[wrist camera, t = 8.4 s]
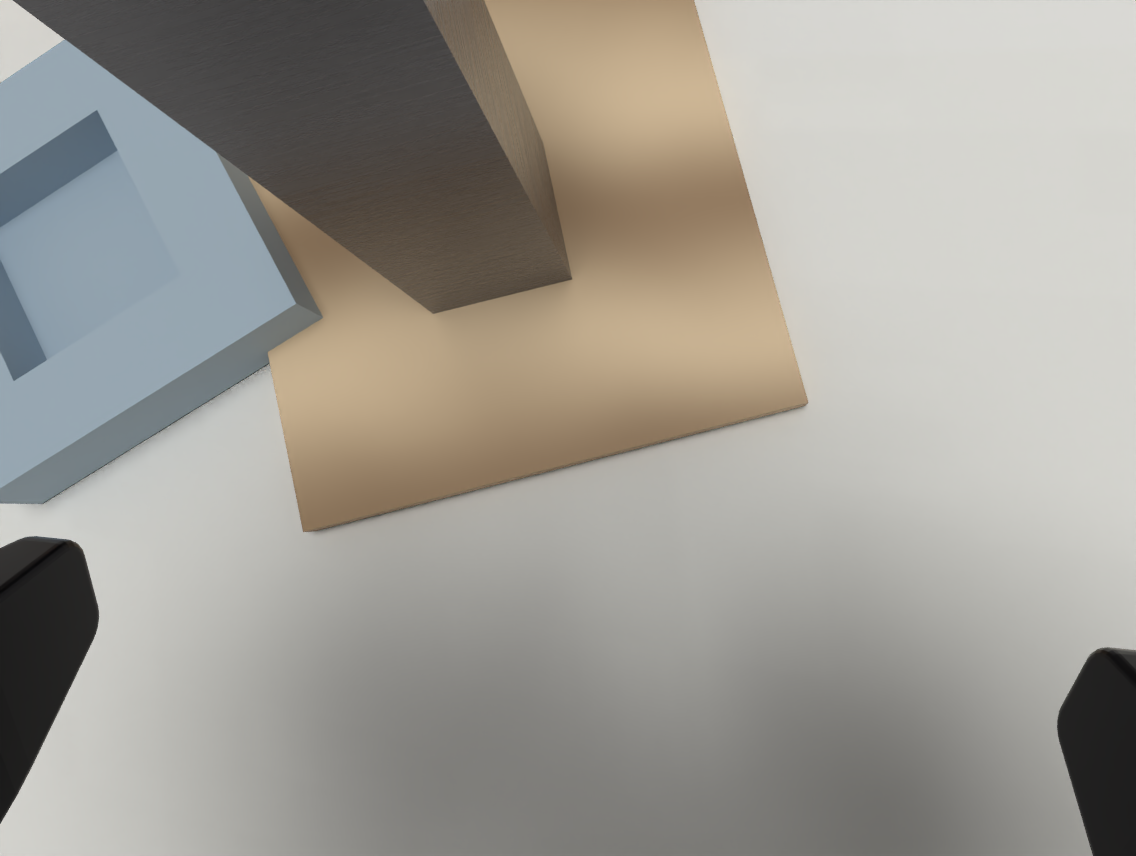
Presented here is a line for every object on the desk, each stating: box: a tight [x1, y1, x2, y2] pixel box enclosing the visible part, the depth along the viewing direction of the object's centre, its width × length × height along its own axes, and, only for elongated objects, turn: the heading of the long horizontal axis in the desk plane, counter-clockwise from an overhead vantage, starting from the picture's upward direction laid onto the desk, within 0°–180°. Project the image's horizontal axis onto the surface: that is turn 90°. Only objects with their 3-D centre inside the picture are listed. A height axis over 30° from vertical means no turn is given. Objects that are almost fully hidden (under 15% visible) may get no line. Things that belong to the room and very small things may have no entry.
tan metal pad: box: [248, 0, 808, 532], centre depth 20 cm, size 12×12×1 cm
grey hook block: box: [13, 0, 572, 314], centre depth 14 cm, size 6×3×13 cm, turn 12°
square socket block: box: [0, 40, 323, 504], centre depth 21 cm, size 9×9×2 cm
